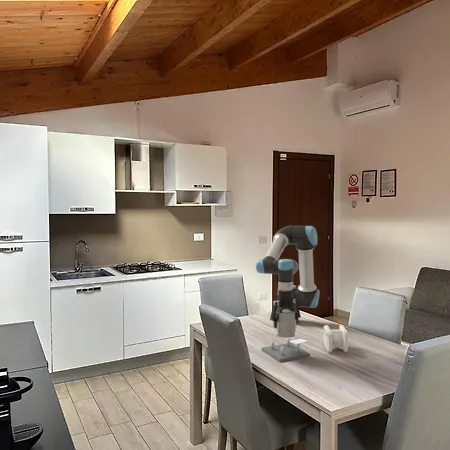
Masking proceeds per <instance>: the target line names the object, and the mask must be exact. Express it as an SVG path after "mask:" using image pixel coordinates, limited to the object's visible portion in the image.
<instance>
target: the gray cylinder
mask: <svg viewBox="0 0 450 450" xmlns="http://www.w3.org/2000/svg"><path fill="white" fill-rule="evenodd" d="M276 312H277V311H276ZM277 313H279V312H277ZM278 322H279V335H277V334H275V335H276V336H277V337H279V338H283V339H290V338H293V337H295V336H296V334H295V333H296V332H295V311H290V310H289V309H283V310H282V312H281V313H279V319H278Z"/></svg>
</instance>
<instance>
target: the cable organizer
mask: <svg viewBox="0 0 450 450" xmlns="http://www.w3.org/2000/svg"><path fill="white" fill-rule="evenodd" d="M323 345H324V347H325V348H326V351H327V352H328V353H333V350H334V351H335V350H336V348H339V350H342V351H343V352H344V353H348V352H349V349H348V348H349V333H348V331H347V329H346V327H345V326H344V324H339V329H331V328H330V327H329V325H328V324H326V325H324V326H323Z"/></svg>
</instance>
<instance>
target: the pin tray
mask: <svg viewBox="0 0 450 450" xmlns="http://www.w3.org/2000/svg"><path fill="white" fill-rule="evenodd" d="M261 351H262V352H263V353H265V354H266V355H268V356H269V357H271V358H272V359H274V360H276V362H278V363H282V362H288V361H292V360H298V359H299V360H300V359H303V358H304V359H305V358H310V357H311V353H310V352H308V351H306V350H305V349H302V348H301V344H300V343H297V344H293V343H292V342H291V340H290V338H286V343H283V344H277V345H275V341H273V340H272V341H271V342H270V346H264V347H261Z"/></svg>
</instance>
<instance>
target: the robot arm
mask: <svg viewBox="0 0 450 450" xmlns="http://www.w3.org/2000/svg"><path fill="white" fill-rule="evenodd" d="M288 245H292V246H294V245H295V249H296V250H297V251H298V262H297V261H296V260H294V259H291V258H289V259H288V258H281V259H280V256H281V255H282V253H283V251H284V249H285V248H286V247H287V246H288ZM317 245H318V233H317V230H316V228H315V226H313V225H287V226H285V227H284V226H283V227H282V228H280V229H279V230H277V232H276V233H275V234H274V235H273V238H272V242H271V245H270V247H269V248H268V250H267V252H266V254H265V255H264V257H263V258H262V259H257V260H256V263H255V269H256V273H259V274H262V275H264V274H265V275H268V274H269V275H278V279H277V280H278V284H277V294H276V295H277V300H273V301H272V309H271V312H270V317H269V319H270V320H269V321H272V322H273V328H274V334H275V335H276V334H277V335H279V322H278V319H279V313H281V312H282V310H283V309H289V310H290V311H295V333H297V325H298V323H299V318H301V312H300V307H301V308H309V309H311V308H312V309H315V308H317V307H318V304H319V299H320V292H321V291H320V290H319V289H318V288H317V285H316V284H315V278H314V277H315V276H314V254H313V251H314V250H315V248H316V246H317ZM298 271H299V285H298V286H296V285H294V275H295V274H296V273H297V272H298ZM276 311H277V312H279V313H277V312H276ZM277 335H276V336H277Z"/></svg>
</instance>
